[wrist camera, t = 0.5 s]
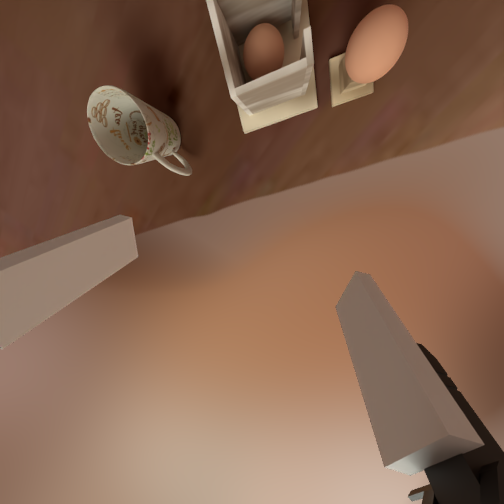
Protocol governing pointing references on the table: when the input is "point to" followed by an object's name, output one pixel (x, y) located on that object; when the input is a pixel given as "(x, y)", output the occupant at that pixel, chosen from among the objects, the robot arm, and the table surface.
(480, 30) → the table surface
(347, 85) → the stand
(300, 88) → the rack
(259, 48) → the terracotta ball in tube
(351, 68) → the terracotta ball
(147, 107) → the mug
